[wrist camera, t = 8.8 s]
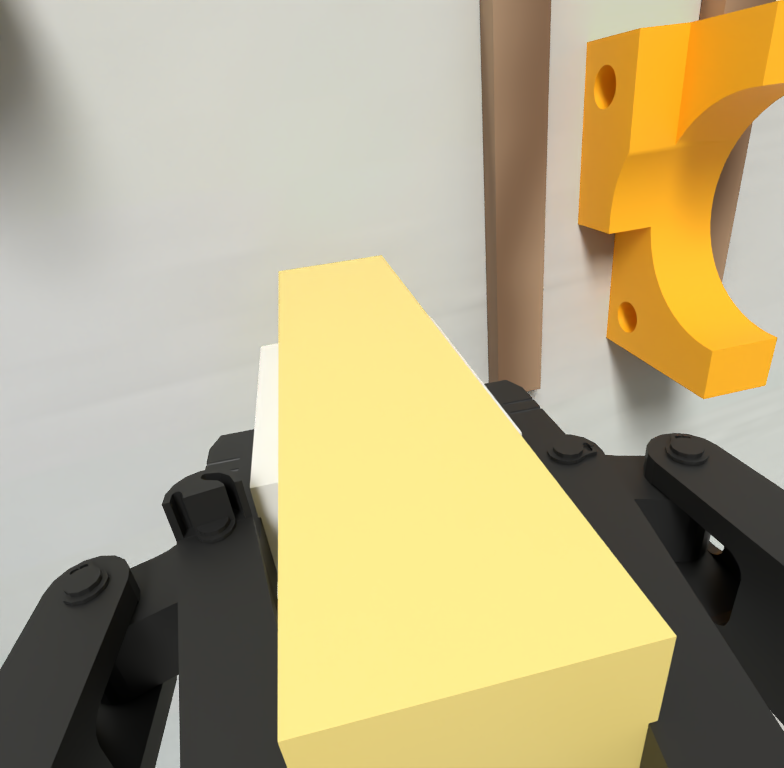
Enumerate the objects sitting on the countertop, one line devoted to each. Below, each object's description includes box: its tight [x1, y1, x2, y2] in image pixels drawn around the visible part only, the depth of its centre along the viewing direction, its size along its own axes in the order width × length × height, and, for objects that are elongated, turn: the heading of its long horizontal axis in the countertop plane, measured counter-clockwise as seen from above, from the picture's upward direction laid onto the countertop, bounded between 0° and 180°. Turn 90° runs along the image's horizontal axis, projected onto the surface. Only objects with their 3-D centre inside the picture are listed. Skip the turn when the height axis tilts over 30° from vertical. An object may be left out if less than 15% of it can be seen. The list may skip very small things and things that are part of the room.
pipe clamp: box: [578, 0, 784, 399], centre depth 19 cm, size 12×4×6 cm, turn 7°
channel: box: [480, 0, 776, 391], centre depth 19 cm, size 10×24×1 cm, turn 6°
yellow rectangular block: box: [278, 255, 677, 768], centre depth 12 cm, size 4×5×15 cm
